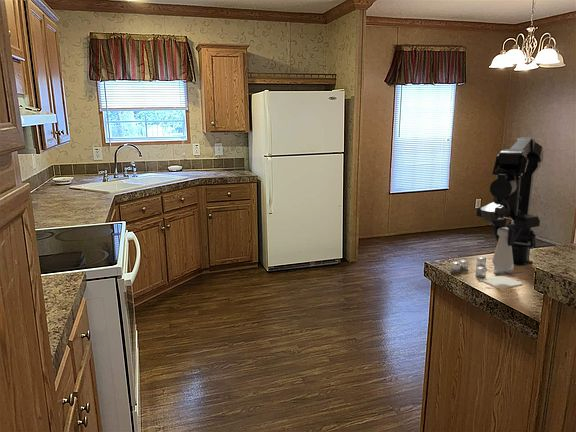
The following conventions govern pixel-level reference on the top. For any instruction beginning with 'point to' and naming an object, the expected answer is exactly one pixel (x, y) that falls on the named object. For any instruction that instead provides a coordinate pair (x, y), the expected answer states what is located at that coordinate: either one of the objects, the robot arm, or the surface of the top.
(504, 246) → the salt shaker
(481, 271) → the spacer posts
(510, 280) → the mat
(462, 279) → the top surface
